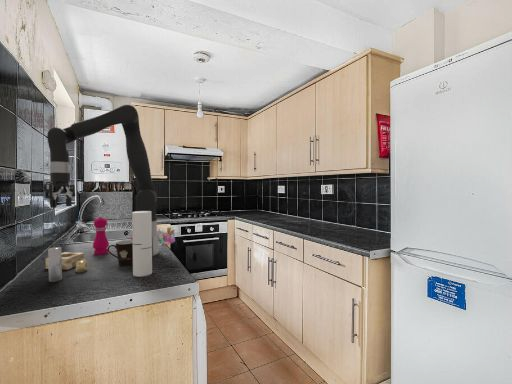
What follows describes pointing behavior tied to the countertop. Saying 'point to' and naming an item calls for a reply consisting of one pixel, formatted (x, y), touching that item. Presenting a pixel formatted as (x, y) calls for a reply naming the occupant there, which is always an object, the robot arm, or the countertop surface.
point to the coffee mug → (124, 252)
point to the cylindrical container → (142, 243)
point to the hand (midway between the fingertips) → (61, 207)
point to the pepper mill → (100, 236)
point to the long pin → (55, 264)
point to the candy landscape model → (165, 236)
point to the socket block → (69, 259)
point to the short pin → (81, 266)
